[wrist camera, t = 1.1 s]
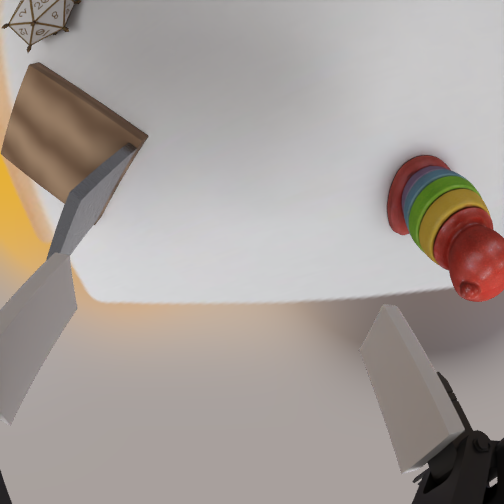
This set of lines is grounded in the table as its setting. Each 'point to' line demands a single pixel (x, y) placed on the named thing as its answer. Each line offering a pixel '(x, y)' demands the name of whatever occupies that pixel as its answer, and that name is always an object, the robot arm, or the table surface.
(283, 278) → the table surface
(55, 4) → the game die
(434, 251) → the stacking bear
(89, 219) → the bookend
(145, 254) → the table surface
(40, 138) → the shelf plank
